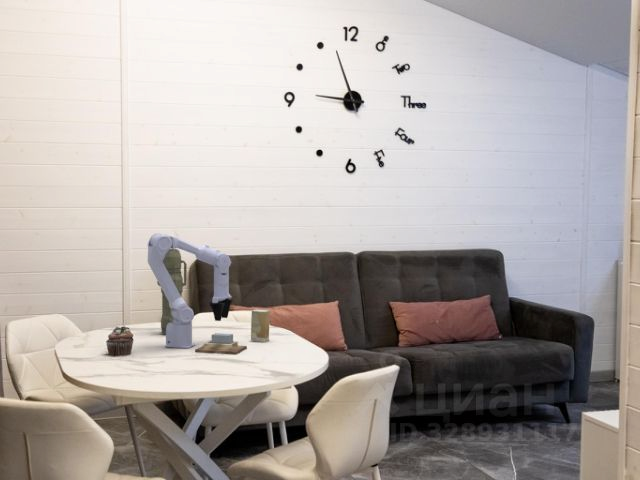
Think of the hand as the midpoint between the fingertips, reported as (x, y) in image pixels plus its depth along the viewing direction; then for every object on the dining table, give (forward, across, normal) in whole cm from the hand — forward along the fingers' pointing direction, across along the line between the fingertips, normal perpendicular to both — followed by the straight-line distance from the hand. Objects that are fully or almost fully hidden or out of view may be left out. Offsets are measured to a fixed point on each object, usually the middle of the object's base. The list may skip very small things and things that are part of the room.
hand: (221, 319), depth 330 cm
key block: (+8, -14, -6) cm, 17 cm away
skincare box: (+10, +9, -13) cm, 18 cm away
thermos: (+10, +15, +27) cm, 32 cm away
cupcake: (+10, -30, +28) cm, 42 cm away
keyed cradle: (+9, -14, -5) cm, 18 cm away
